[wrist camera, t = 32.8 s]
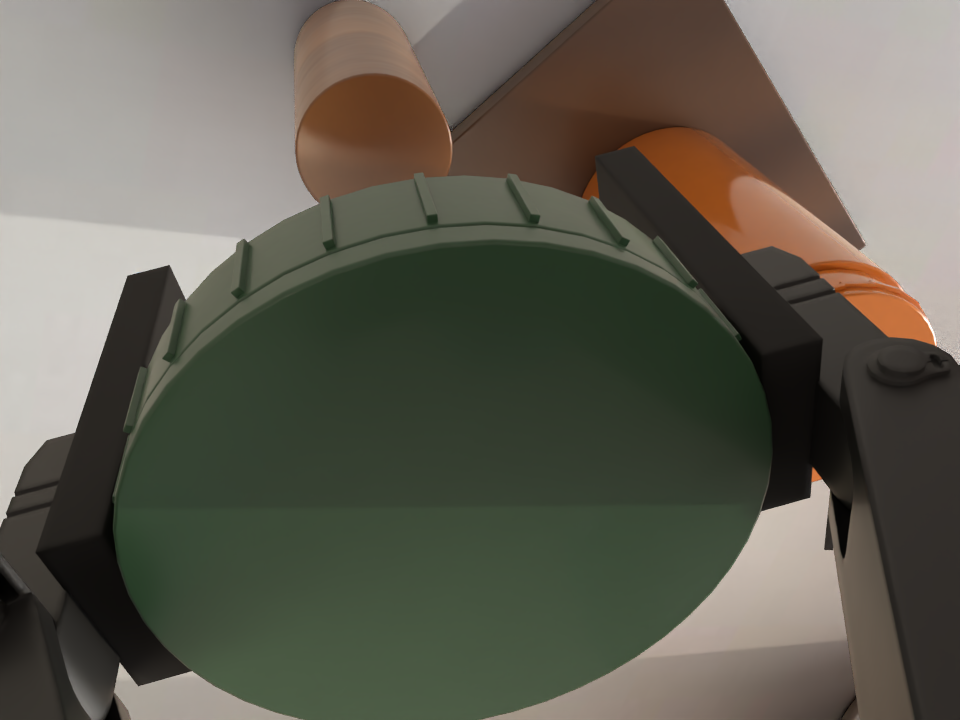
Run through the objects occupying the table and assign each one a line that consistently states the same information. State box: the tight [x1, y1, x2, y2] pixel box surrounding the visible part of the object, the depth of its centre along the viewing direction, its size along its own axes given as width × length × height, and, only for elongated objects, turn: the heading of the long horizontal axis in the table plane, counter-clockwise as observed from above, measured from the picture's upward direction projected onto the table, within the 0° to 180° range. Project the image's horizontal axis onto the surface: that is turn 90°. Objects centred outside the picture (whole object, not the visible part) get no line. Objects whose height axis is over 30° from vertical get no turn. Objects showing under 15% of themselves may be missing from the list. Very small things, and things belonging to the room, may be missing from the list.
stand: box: [294, 0, 452, 204], centre depth 25 cm, size 4×4×9 cm
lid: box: [112, 173, 773, 720], centre depth 11 cm, size 8×8×2 cm
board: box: [447, 0, 866, 250], centre depth 33 cm, size 16×12×1 cm
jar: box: [582, 127, 937, 482], centre depth 28 cm, size 7×7×12 cm
